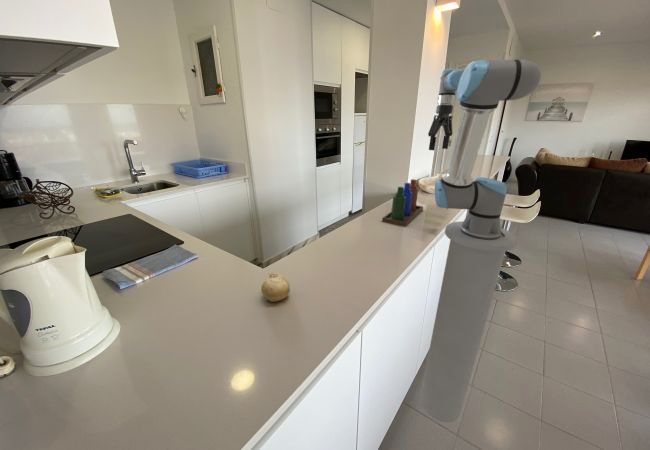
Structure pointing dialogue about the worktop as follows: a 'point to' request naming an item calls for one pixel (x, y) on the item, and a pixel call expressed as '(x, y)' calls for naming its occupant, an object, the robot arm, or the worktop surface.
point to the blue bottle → (407, 198)
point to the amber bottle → (414, 195)
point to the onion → (275, 288)
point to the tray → (406, 218)
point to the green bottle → (398, 205)
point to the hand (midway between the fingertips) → (438, 149)
